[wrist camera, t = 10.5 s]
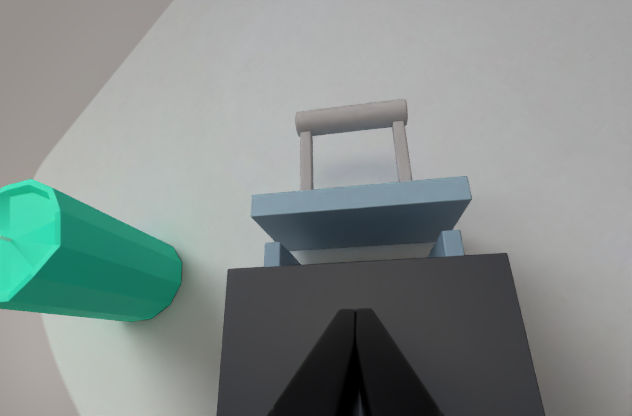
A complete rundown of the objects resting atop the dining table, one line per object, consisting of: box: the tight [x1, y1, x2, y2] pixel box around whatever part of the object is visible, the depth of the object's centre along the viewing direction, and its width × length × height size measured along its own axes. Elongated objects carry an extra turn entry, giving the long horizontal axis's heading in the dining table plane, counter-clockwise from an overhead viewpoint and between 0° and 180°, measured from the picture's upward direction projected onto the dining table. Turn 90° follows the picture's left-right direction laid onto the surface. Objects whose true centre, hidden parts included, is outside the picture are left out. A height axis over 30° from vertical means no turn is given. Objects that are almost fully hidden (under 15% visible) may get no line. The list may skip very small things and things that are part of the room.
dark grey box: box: [217, 253, 545, 416], centre depth 16 cm, size 12×12×9 cm
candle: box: [0, 179, 182, 322], centre depth 20 cm, size 6×6×12 cm
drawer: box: [251, 99, 472, 267], centre depth 19 cm, size 16×10×7 cm, turn 1°
